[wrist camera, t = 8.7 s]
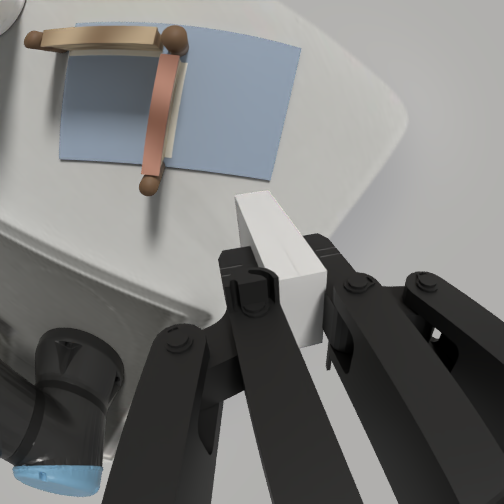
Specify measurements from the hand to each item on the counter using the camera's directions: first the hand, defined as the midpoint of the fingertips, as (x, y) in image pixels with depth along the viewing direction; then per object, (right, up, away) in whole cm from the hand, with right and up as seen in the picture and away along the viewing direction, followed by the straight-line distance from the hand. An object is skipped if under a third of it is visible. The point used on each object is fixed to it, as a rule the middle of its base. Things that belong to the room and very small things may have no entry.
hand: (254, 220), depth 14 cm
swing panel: (-9, +12, +14) cm, 20 cm away
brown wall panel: (-13, +19, +10) cm, 25 cm away
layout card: (-8, +14, +14) cm, 21 cm away
